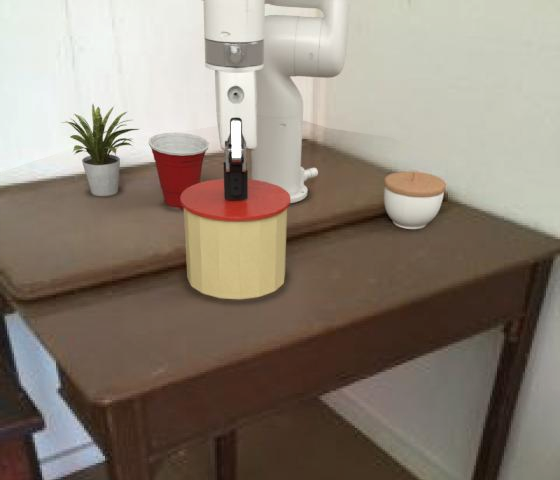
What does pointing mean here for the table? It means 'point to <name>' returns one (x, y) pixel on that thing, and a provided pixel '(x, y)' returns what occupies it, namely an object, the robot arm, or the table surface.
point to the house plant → (100, 152)
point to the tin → (235, 255)
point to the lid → (235, 201)
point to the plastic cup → (177, 163)
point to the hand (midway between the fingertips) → (235, 193)
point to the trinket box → (413, 198)
